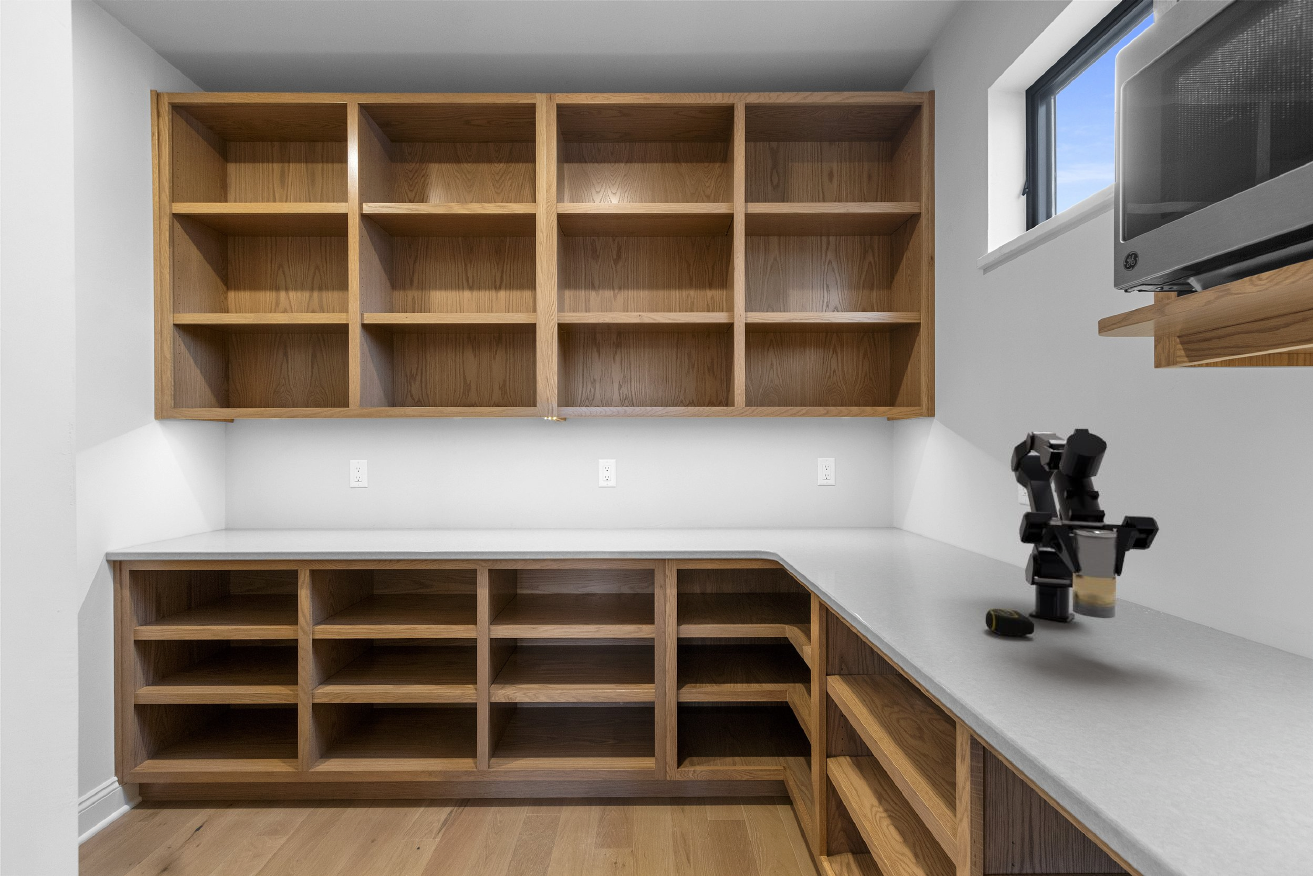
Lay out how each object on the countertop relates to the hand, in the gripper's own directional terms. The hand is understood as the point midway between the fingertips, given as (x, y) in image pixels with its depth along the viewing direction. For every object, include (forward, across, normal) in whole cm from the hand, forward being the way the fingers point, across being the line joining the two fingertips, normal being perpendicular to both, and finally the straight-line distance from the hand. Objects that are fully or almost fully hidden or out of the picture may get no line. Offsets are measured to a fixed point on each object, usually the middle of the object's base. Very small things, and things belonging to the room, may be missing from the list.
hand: (1097, 573), depth 103 cm
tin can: (+4, 0, -6) cm, 7 cm away
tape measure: (+2, +10, -18) cm, 20 cm away
